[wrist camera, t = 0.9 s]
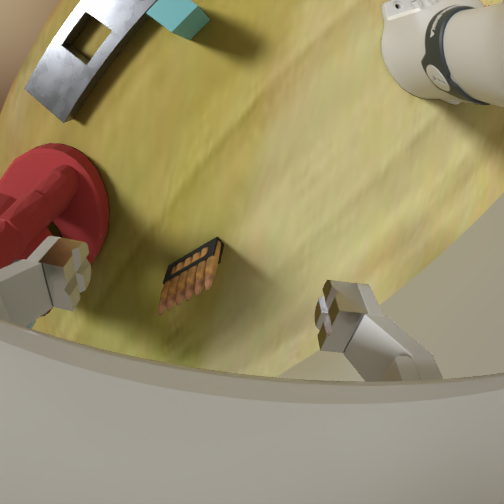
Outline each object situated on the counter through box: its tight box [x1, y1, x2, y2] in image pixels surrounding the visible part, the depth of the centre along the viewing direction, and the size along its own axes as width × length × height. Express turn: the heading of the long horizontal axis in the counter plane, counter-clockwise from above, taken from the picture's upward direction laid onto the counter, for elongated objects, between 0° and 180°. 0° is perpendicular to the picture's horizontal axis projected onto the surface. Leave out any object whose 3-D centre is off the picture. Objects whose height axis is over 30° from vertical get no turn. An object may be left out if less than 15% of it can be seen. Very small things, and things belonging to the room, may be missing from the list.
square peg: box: [146, 0, 210, 40], centre depth 29 cm, size 4×4×10 cm
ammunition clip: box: [158, 237, 224, 315], centre depth 48 cm, size 11×2×12 cm, turn 123°
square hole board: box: [25, 0, 158, 123], centre depth 32 cm, size 26×10×3 cm, turn 135°
